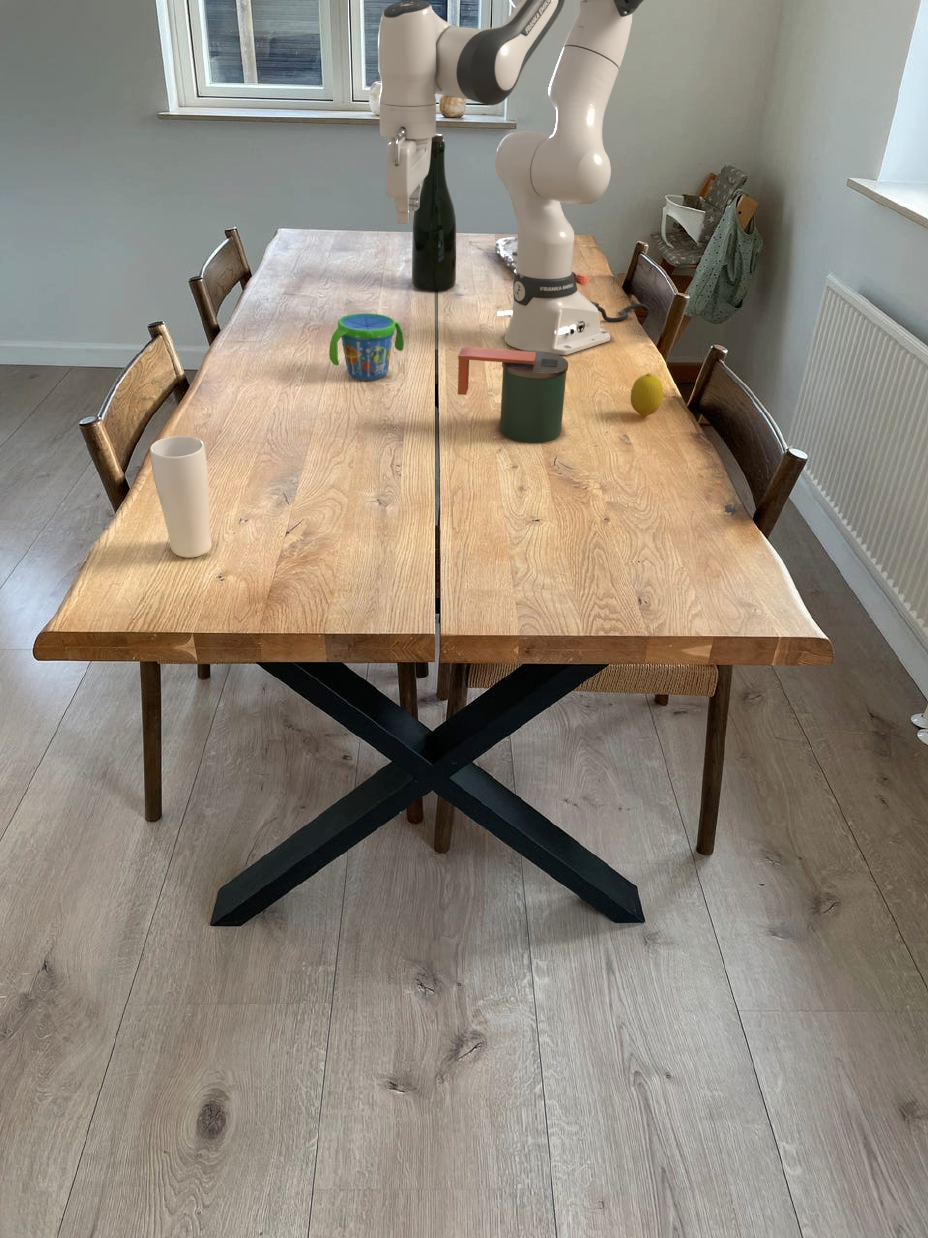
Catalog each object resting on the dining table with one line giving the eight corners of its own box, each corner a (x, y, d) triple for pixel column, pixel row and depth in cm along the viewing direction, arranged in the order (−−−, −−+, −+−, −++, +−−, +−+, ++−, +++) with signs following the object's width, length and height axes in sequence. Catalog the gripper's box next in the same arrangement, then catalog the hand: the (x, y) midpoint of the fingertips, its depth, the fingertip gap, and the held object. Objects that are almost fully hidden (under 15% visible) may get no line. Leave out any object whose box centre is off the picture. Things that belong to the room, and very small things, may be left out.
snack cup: (389, 359, 196) (389, 307, 190) (417, 376, 188) (417, 322, 183) (318, 373, 188) (315, 319, 183) (344, 391, 181) (342, 336, 175)
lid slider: (457, 395, 165) (458, 355, 161) (460, 386, 169) (461, 346, 165) (531, 401, 164) (533, 360, 160) (533, 391, 168) (535, 351, 164)
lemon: (662, 413, 177) (668, 370, 172) (656, 425, 172) (663, 381, 168) (631, 408, 178) (636, 365, 174) (625, 420, 174) (630, 376, 169)
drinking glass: (170, 537, 136) (153, 435, 127) (220, 536, 136) (207, 434, 128) (162, 562, 130) (144, 458, 122) (214, 561, 131) (200, 457, 122)
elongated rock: (524, 252, 271) (488, 254, 269) (524, 231, 268) (488, 234, 267) (554, 281, 241) (514, 284, 240) (555, 258, 238) (514, 261, 237)
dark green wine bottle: (464, 285, 239) (468, 133, 220) (439, 295, 231) (442, 139, 213) (427, 277, 243) (429, 128, 225) (403, 287, 236) (402, 134, 217)
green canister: (495, 440, 165) (498, 370, 158) (501, 415, 174) (505, 347, 167) (560, 446, 164) (566, 375, 157) (563, 420, 173) (569, 352, 166)
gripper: (416, 134, 147) (416, 232, 155) (437, 114, 164) (436, 203, 171) (374, 132, 147) (377, 230, 155) (399, 112, 164) (400, 201, 172)
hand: (408, 216), depth 164 cm, fingers open, 8 cm apart
